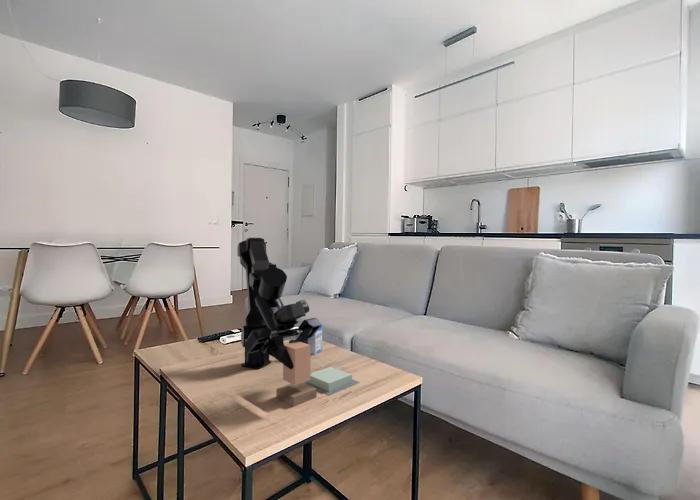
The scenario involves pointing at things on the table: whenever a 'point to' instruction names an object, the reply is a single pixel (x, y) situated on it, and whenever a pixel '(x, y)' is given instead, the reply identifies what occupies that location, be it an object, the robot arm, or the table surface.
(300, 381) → the terracotta brick
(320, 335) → the medicine box
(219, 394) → the table surface
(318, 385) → the foundation slab
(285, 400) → the walnut stand
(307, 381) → the baseplate
